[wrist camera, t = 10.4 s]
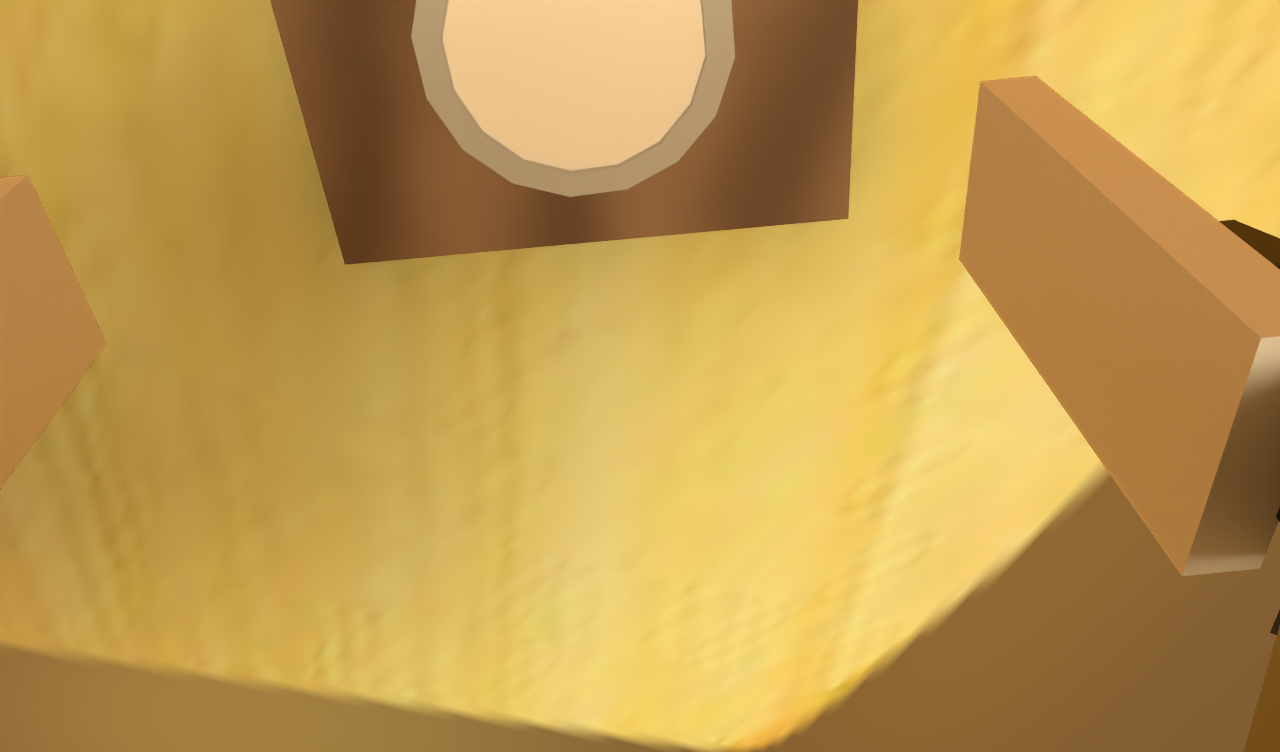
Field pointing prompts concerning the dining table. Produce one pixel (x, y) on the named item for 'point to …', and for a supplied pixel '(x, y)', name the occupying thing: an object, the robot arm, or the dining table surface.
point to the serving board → (526, 217)
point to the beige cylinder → (575, 84)
